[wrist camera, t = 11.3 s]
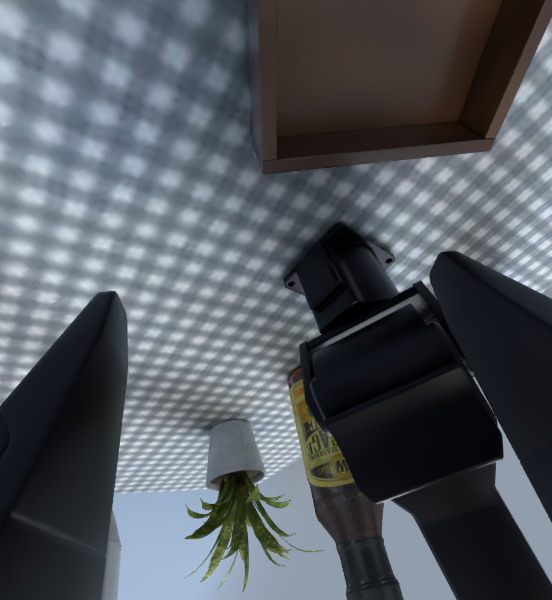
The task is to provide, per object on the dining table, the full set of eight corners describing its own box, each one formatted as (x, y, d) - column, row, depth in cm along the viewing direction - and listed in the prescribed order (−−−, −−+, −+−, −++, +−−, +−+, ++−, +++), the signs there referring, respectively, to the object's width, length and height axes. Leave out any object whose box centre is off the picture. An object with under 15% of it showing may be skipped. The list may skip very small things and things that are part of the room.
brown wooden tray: (459, 129, 20) (490, 151, 18) (253, 148, 19) (263, 174, 17) (569, -163, 13) (642, -179, 11) (237, -176, 11) (251, -199, 9)
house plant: (296, 388, 40) (342, 559, 29) (291, 434, 50) (325, 574, 40) (170, 412, 38) (171, 605, 27) (192, 455, 48) (199, 608, 37)
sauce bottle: (340, 351, 36) (437, 596, 23) (339, 380, 41) (419, 596, 28) (279, 367, 36) (343, 623, 23) (285, 393, 41) (341, 619, 27)
